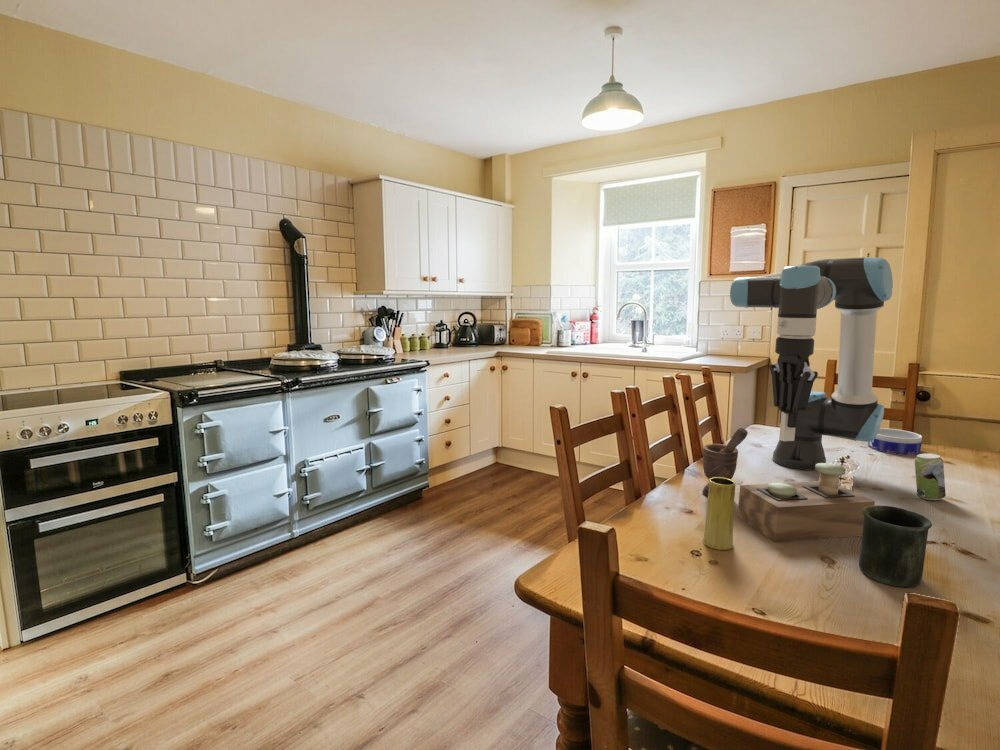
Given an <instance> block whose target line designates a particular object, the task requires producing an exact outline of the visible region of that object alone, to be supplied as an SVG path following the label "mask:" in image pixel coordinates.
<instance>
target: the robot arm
mask: <svg viewBox="0 0 1000 750" xmlns="http://www.w3.org/2000/svg"><path fill="white" fill-rule="evenodd" d="M892 273H893V272H892V268H891V265H890V263H889V262H888V261H887V259H885V258H882V257H869V256H867V257H851V258H850V257H848V258H826V259H825V258H824V259H818V260H813V261H809V262H805V263H802V264H801V263H800V264H797V265H789V266H785V267H784V268H782V269H781V271H779V272H774V273H770V274H768V273H767V274H765V275H760V276H742V277H737V278H735V279H734V280H733V281H732V282H731V285H730V290H729V298H730V302H731V304H732V305H733V306H734V307H737V308H738V307H739V308H746V309H747V308H771V309H772V308H775V309H777V308H778V310H777V311H778V313H777V326H776V335H778V336H777V338H776V339H775V346H774V347H775V348H774V349H775V351H774V352H775V353H776V354H777V355H778V358H777V359H776V360H777V362H776V363H774V364H769V370H770V373H771V381H772V382H771V383H772V395H773V406H774V407H777V408H778V411H780V415H779V427H780V428H779V437H778V438H779V439H778V441H777V444H776V446H775V449H774V451H773V452H772V461H773V463H776V464H778V465H781V466H784V467H788V468H792V469H797V470H806V471H807V470H809V471H814V470H815V466H816V464H818V463H827V458H826V454H825V451H824V446H823V443H822V440H823V436H828V437H833V438H840V439H843V440H844V439H845V440H849V441H854V442H856V441H857V442H866V443H868V442H870V441H872V440H874V439H875V437H876V435H877V433H878V431H879V428H881V426H882V422H883V418H884V414H885V405H884V404H882V403H878V400H879V397H878V396H877V395H876V394H875V393H874V392H873V377H874V362H875V347H876V345H875V344H876V333H877V332H876V330H877V314H878V313H877V312H878V311H880V310H881V309H882V308H883V307H884V306H885V302H887V301H889V300H890V299H891V298H892V294H893V274H892ZM833 301H834V308H835V309H836V310H837V311H838V312H839V313H840V319H839V320H840V321H839V322H840V323H839V325H840V326H839V345H838V346H839V348H838V349H839V350H838V368H837V370H838V371H837V372H838V374H837V390H835V391H833V392H832V393H831V397H828V396H827V393H826V392H823V391H813V390H812V389H813V386H814V382H815V380H816V379H817V377H818V376H819V374H818V371H814V370H812V368H811V367H810V366H811V364H810V359H809V358H810V356H813V354H814V349H815V339H814V338H813V337H814V336H815V335H816V330H817V329H816V328H817V327H816V326H817V314H818V313H817V312H818V310H819V309H820V310H821V308H824V307H827V306H829V305H830V304H831V303H833ZM815 471H816V470H815Z"/></svg>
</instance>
